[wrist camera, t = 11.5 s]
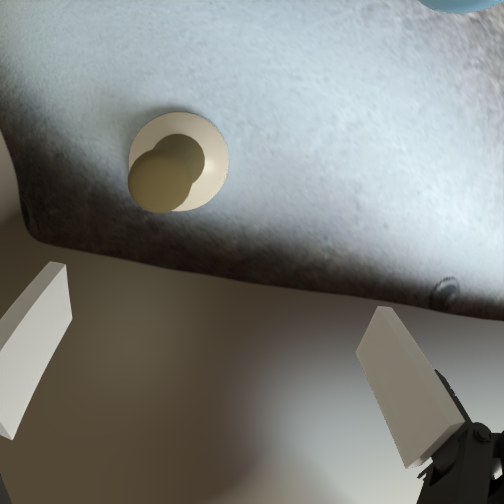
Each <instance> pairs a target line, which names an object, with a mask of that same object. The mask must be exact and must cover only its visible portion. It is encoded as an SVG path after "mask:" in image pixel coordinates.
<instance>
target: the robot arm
mask: <svg viewBox="0 0 504 504" xmlns="http://www.w3.org/2000/svg"><path fill="white" fill-rule="evenodd" d="M418 1H420V2H421V3H422V4H423V5H425V6H426V7H428V8H430V9H432V10H435V11H439V12H446V13H449V14H461V13H470V12H475V11H479V10H482V9H486V8H489V7H491V6H494V5H496V4H499V3H501V2H503V1H504V0H418ZM71 320H72V313H71V307H70V299H69V291H68V283H67V273H66V264H61V263H56V262H49V263H48V264H47V266H46V267H45V268H44V269H43V270H42V271H41V272H40V273H39V274H38V275H37V277H36V278H35V279H34V280H33V281H32V282H31V283H30V285H29V286H28V287H27V288H26V289H25V290H24V292H23V293H22V294H21V295H20V296H19V297H18V299H17V300H16V301H15V302H14V304H13V305H12V306H11V307H10V308H9V310H8V311H7V312H6V314H5V315H4V316H3V317H2V319H1V320H0V435H2V436H4V437H7V438H9V439H11V440H13V438H14V435H15V433H16V431H17V428H18V426H19V423H20V421H21V419H22V416H23V414H24V412H25V410H26V407H27V405H28V403H29V401H30V399H31V397H32V395H33V392H34V390H35V388H36V386H37V384H38V382H39V380H40V378H41V376H42V374H43V372H44V370H45V368H46V366H47V364H48V362H49V360H50V358H51V357H52V355H53V353H54V351H55V349H56V347H57V345H58V344H59V342H60V340H61V338H62V336H63V334H64V333H65V331H66V329H67V327H68V326H69V324H70V322H71ZM356 355H357V358H358V360H359V362H360V364H361V366H362V368H363V371H364V373H365V375H366V377H367V379H368V381H369V384H370V386H371V388H372V390H373V392H374V395H375V397H376V399H377V402H378V404H379V406H380V409H381V411H382V413H383V415H384V418H385V420H386V422H387V425H388V427H389V429H390V432H391V434H392V437H393V439H394V441H395V444H396V446H397V449H398V451H399V453H400V456H401V458H402V461H403V463H404V466H405V468H406V469H409V468H413V467H416V466H420V465H422V464H423V463H424V462H425V461H426V460H427V459H429V457H431V458H432V460H433V462H432V463H431V464H430V465H429V466H428V467H427V468H426V469H425V470H423V471H422V472H421V473H420V474H419V476H418V477H417V478H421V477H422V476H423V475H424V474H425V473H427V474H426V477H425V478H424V479H423V481H424V483H423V487H422V489H421V493H420V495H419V498H418V501H417V504H504V431H503V432H502V433H491V431H490V430H489V428H488V427H487V426H485V425H484V424H482V423H479V422H475V423H473V422H472V421H471V420H470V418H469V416H468V414H467V413H466V411H465V409H464V408H463V406H462V404H461V403H460V401H459V399H458V398H457V396H455V393H454V391H453V390H452V389H450V385H449V384H448V382H447V381H446V379H445V378H444V377H443V376H442V375H441V374H440V373H439V372H438V371H437V370H436V369H435V370H434V369H433V368H432V367H431V365H430V363H429V362H428V360H427V359H426V357H425V356H424V354H423V353H422V351H421V350H420V348H419V347H418V345H417V344H416V342H415V341H414V339H413V338H412V336H411V335H410V333H409V332H408V330H407V329H406V328H405V326H404V325H403V323H402V322H401V320H400V319H399V318H398V316H397V315H396V313H395V312H394V310H393V309H392V308H391V307H381V306H378V307H377V309H376V311H375V313H374V316H373V317H372V320H371V322H370V324H369V326H368V328H367V330H366V332H365V334H364V336H363V339H362V341H361V343H360V345H359V347H358V349H357V350H356ZM501 468H502V475H501V476H500V477H499V478H497V479H495V478H494V474H495V473H497V472H498V471H499V470H500V469H501ZM0 504H12V502H11V499H10V497H9V495H8V492H7V490H6V488H5V485H4V482H3V480H2V477H1V474H0Z"/></svg>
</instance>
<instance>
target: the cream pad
mask: <svg viewBox="0 0 504 504" xmlns="http://www.w3.org/2000/svg"><path fill="white" fill-rule="evenodd" d="M171 134H184V135H187V136H190V137H191V138H193V139H194V140H196V141H197V142H198V143H199V145H200V146H201V148H202V149H203V153H204V156H205V166H204V169H203V172H202V174H201V175H200V177H199V178H198V179H197V181H195V182H194V183H193V184H192V186H191V189H190V192H189V195H188V197H187V198H186V199H185V201H184V202H183V203H182V204H181V205H180V206H178V207H177V208H176V209H174V210H171V211H187V210H191V209H194V208H197V207H199V206H201V205H203V204H205V203H206V202H208V201H209V200H210V199H212V198H213V197H214V196H215V195H216V194H217V192H218V191H219V190H220V188H221V187H222V185H223V183H224V181H225V178H226V175H227V171H228V163H229V159H228V150H227V146H226V143H225V140H224V138H223V136H222V134H221V133H220V132H219V130H218V129H217V128H216V127H215V126H214V125H213V124H212V123H211V122H210V121H208V120H207V119H205V118H203V117H201V116H199V115H196V114H193V113H187V112H173V113H168V114H164V115H161V116H159V117H156V118H155V119H153V120H151V121H150V122H148V123H147V124H146V125H145V126H144V127H143V128H142V129H141V130H140V131H139V132H138V134H137V135H136V137H135V139H134V140H133V143H132V145H131V148H130V152H129V172H130V169H131V166H132V165H133V163H134V162H135V160H136V159H137V158H138V157H139V156H141V155H142V154H143V153H145V152H147V151H149V150H152V149H153V148H154V146H155V145H156V144H157V142H158V141H160V140H161V139H162V138H164V137H166V136H168V135H171Z"/></svg>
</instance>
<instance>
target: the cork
mask: <svg viewBox="0 0 504 504" xmlns="http://www.w3.org/2000/svg"><path fill="white" fill-rule="evenodd" d="M204 166H205V156H204V153H203V149H202V148H201V146H200V145H199V143H198V142H197V141H196V140H194V139H193V138H191V137H190V136H187V135H184V134H171V135H168V136H166V137H164V138H162V139H161V140H160V141H158V142H157V144H156V145H155V146H154V148H153V149H152V150H149V151H147V152H145V153H143V154H142V155H141V156H139V157H138V158H137V159H136V160H135V162H134V163H133V165H132V166H131V169H130V172H129V176H128V189H129V191H130V194H131V197H132V198H133V199H134V201H135V202H136V203H137V205H139V206H140V207H142V208H143V209H145V210H147V211H150V212H153V213H165V212H168V211H171V210H174V209H176V208H177V207H178V206H180V205H181V204H182V203H183V202H184V201H185V199H186V198H187V197H188V195H189V192H190V189H191V186H192V184H193V183H194V182H195V181H197V179H198V178H199V177H200V175H201V174H202V172H203V169H204Z"/></svg>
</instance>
